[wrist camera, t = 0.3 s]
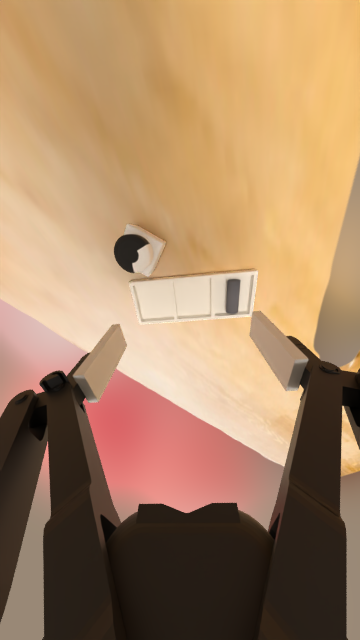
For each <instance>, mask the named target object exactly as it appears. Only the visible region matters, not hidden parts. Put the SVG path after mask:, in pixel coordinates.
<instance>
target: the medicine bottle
mask: <svg viewBox="0 0 360 640" xmlns="http://www.w3.org/2000/svg"><path fill="white" fill-rule="evenodd" d="M165 245H166V242H165V241H164V240H162V239H160V238H159V237H157V236H155V235H153V234H152V233H150V232H148V231H146V230H145V229H143V228H141V227H139V226H137V225H132V224H127V225H126V228H125V231H124V235H123V236H121V237H120V238H119V239H118V240H117V242H116V244H115V247H114V255H115V258H116V261H117V262H118V264H119V265H120V266H121V267H122V268H123V269H124V270H126V271H128V272H131V273H141V274H143V275H145V276H147V277H149V276H150V275H151V274H152V272H153V271H154V270H155V268H156V266H157V263H158V261H159V259H160V256H161V254H162V252H163V249H164V247H165Z"/></svg>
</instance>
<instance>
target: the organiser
mask: <svg viewBox="0 0 360 640" xmlns="http://www.w3.org/2000/svg"><path fill="white" fill-rule="evenodd" d="M257 277H258V271H257V270H255V269H250V270H239V271H229V272H218V273H207V274H196V275H185V276H174V277H163V278H152V279H141V280H131V281H130V282H129V286H130V290H131V294H132V298H133V302H134V306H135V310H136V315H137V319H138V323H139V325H143V324H156V323H170V322H183V321H197V320H210V319H223V318H237V317H250V316H252V312H253V307H254V300H255V292H256V284H257ZM230 279H239V280H241V282H240V294H239V306H238V313H236V314H229V313H227V312H226V297H227V280H230Z"/></svg>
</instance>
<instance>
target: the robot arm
mask: <svg viewBox="0 0 360 640" xmlns="http://www.w3.org/2000/svg"><path fill="white" fill-rule="evenodd" d="M250 337H251V339H252V340H253V342H254V343H255V345H256V346H257V348H258V349H259V351H260V352H261V354H262V355H263V357H264V358H265V360H266V361H267V363H268V365H269V366H270V368H271V369H272V371H273V372H274V374H275V375H276V377H277V378H278V380H279V381H280V383H281V384H282V386H283V387H284V389H285V391H294V390H298V388H299V385H301V386H302V387H303V388H304V391H303V393H302V396H301V399H300V400H301V402H300V406H299V410H298V414H297V418H296V422H295V426H294V431H293V435H292V439H291V443H290V447H289V451H288V455H287V459H286V463H285V468H284V472H283V476H282V480H281V484H280V488H279V492H278V497H277V500H276V504H275V507H274V511H273V514H272V517H271V521H270V525H269V529H268V532H267V530H266V529H265V528H264V527H263V526H262V525H261V524H260V523H259V522H257V521H256V520H255V519H254V518H252V517H251V516H249V515H248V514H246V513H244V512H242V511H240V510H238V507H237V503H212V504H209V505H206V506H204V507H202V508H199V509H197V510H195V511H192V512H190V513H184V512H181V511H179V510H176V509H174V508H171V507H169V506H166V505H164V504H139V507H138V512H136V513H134V514H132V515H131V516H129V517H128V518H127V519H126V520H124V521H123V522H122V523H121V522H120V519H119V517H118V514H117V512H116V510H115V508H114V505H113V502H112V499H111V496H110V492H109V489H108V485H107V482H106V478H105V475H104V471H103V468H102V465H101V461H100V458H99V454H98V451H97V447H96V444H95V440H94V437H93V434H92V430H91V427H90V424H89V420H88V416H87V413H86V409H85V406H84V404H83V401H84V399H85V397H86V399H87V400H88V402H99V400H100V398H101V396H102V394H103V392H104V390H105V388H106V386H107V384H108V382H109V380H110V378H111V377H112V375H113V373H114V371H115V369H116V367H117V365H118V363H119V361H120V359H121V357H122V355H123V353H124V351H125V349H126V347H127V344H126V342H125V339H124V336H123V333H122V330H121V327H120V324H115V325H112V326H111V327H110V328H109V330H108V331H107V332H106V334H105V335H104V336H103V337H102V339H101V340H100V341H99V342H98V344H97V345H96V346H95V348H94V349H93V350H92V351H91V353H87V354H86V355H85V356H83V357H82V358H81V360H80V361H79V363H77V364H76V366H75V367H74V368H73V369H72V370H71V372H70V373H69V374H68V375H67V377H66V375H65V374H64V373H63V371H55V372H52V373H50V374H49V375H47V376H45V377H44V378H43V379H42V380H41V381H40V386H41V387H42V388H43V390H44V391H45V392H42V393H38V394H36V393H35V392H34V391H33V390H26V391H24V392H22V393H19V394H18V395H16V396H15V397H14V398H13V399H12V400H11V401H10V402H9V403H8V405H7V407H6V409H5V410H4V412H3V414H2V416H1V417H0V622H1V619H2V616H3V613H4V610H5V606H6V603H7V599H8V595H9V592H10V588H11V585H12V581H13V577H14V573H15V569H16V565H17V561H18V557H19V553H20V549H21V545H22V541H23V537H24V533H25V529H26V525H27V521H28V517H29V513H30V509H31V505H32V501H33V497H34V493H35V489H36V485H37V481H38V477H39V474H40V470H41V465H42V461H43V458H44V453H45V450H46V446H47V441H48V449H49V474H50V497H51V517H50V520H49V521H48V522H47V523H46V525H45V528H44V536H43V556H44V557H43V558H44V637H43V639H42V640H348V639H347V637H346V528H345V523H344V521H343V520H342V519H341V517H340V476H341V432H342V405H343V406H344V408H345V411H346V414H347V416H348V419H349V422H350V425H351V427H352V430H353V433H354V435H355V438H356V441H357V444H358V446H359V449H360V369H359V370H358V372H357V373H355V372H348V371H342V370H341V369H340V368H339V367H337V366H335V365H334V364H331V363H329V362H325V361H321V360H320V359H319V358H318V357H317V356H315V355H314V354H313V353H312V352H311V351H310V350H309V349H307V347H306V346H305V345H303V344H302V343H301V342H300V341H299V340H298V339H296V338H294V337H292V336H285V335H284V334H283V333H282V332H281V331H280V330H279V329H278V328H277V327H276V326H275V325H274V324H273V323H272V322H271V321H270V320H269V319H268V318H267V317H266V316H265V315H264V314H263V313H262V312H261V311H254V312H252V318H251V327H250Z"/></svg>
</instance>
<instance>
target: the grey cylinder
mask: <svg viewBox="0 0 360 640" xmlns="http://www.w3.org/2000/svg"><path fill="white" fill-rule="evenodd" d="M240 282H241V280H239V279H230V280H227V297H226V312H227V313H229V314H236V313H238V306H239V294H240Z"/></svg>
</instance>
